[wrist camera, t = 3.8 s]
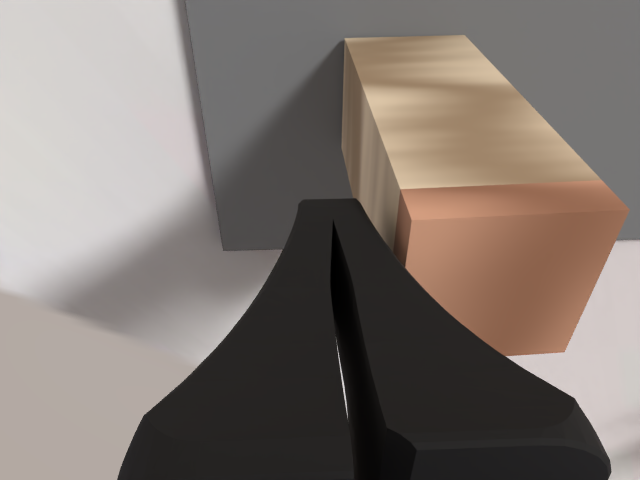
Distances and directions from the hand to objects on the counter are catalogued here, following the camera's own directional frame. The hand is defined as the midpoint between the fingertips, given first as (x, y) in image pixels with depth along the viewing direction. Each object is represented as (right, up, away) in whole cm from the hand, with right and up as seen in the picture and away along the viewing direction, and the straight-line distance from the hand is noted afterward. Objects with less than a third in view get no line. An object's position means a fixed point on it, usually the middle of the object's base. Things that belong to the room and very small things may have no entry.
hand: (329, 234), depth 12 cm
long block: (+3, +5, +6) cm, 8 cm away
